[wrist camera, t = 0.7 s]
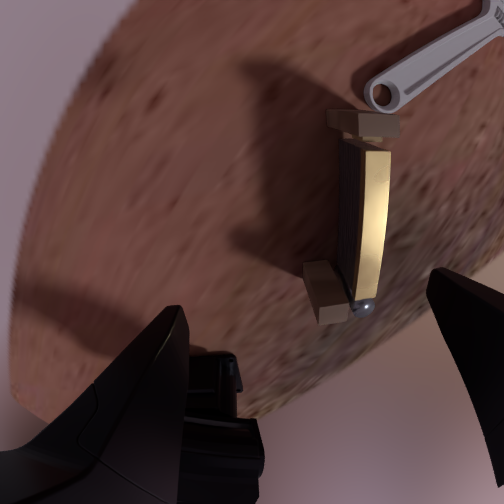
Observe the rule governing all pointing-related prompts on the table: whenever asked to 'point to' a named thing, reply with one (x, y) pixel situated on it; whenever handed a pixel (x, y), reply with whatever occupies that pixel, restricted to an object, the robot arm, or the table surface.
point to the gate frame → (320, 272)
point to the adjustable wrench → (437, 58)
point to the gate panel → (361, 220)
